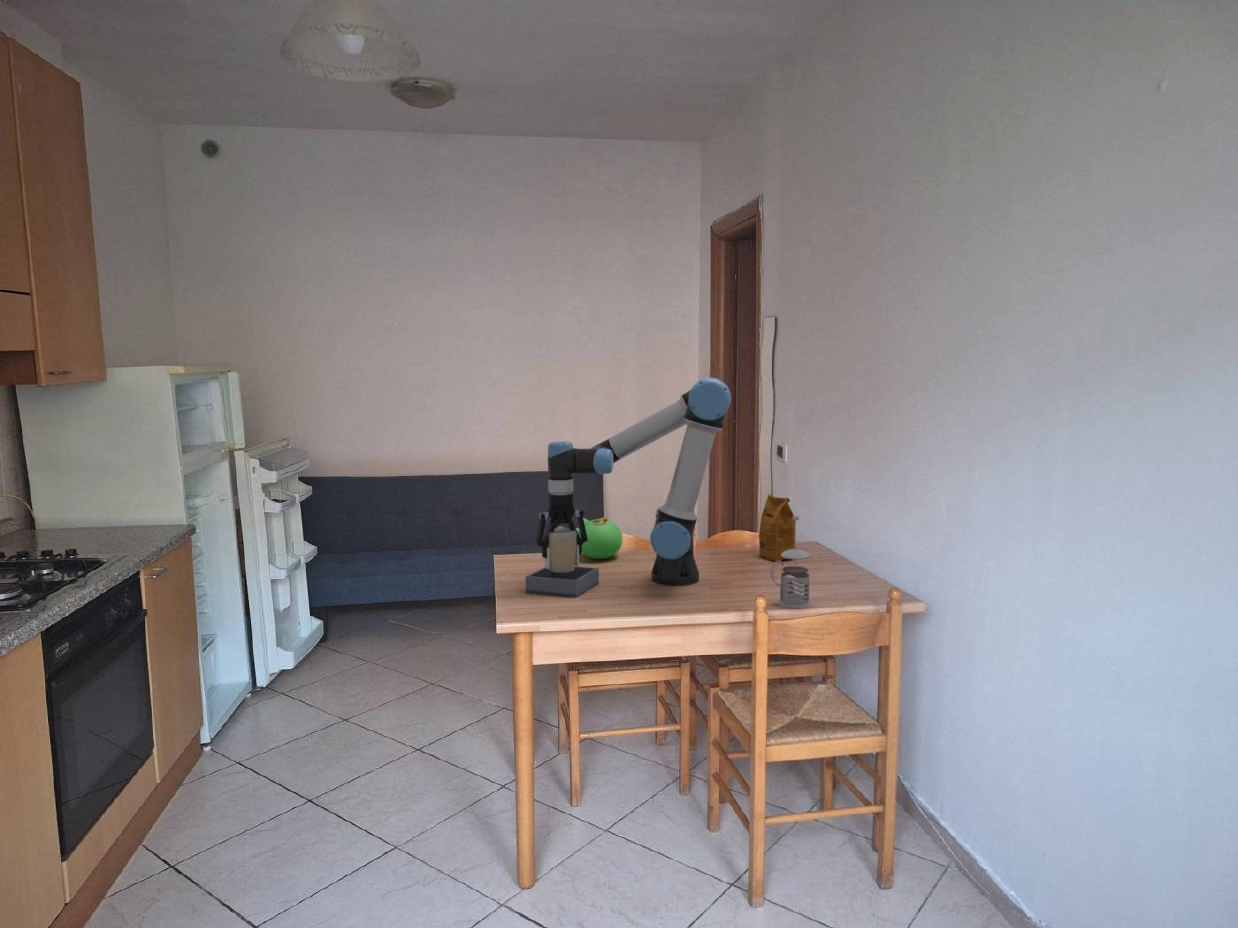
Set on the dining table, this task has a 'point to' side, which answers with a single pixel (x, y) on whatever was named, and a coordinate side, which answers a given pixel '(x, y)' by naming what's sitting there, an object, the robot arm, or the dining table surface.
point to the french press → (794, 579)
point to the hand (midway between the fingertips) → (562, 566)
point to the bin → (562, 582)
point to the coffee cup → (562, 550)
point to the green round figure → (601, 538)
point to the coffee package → (776, 528)
